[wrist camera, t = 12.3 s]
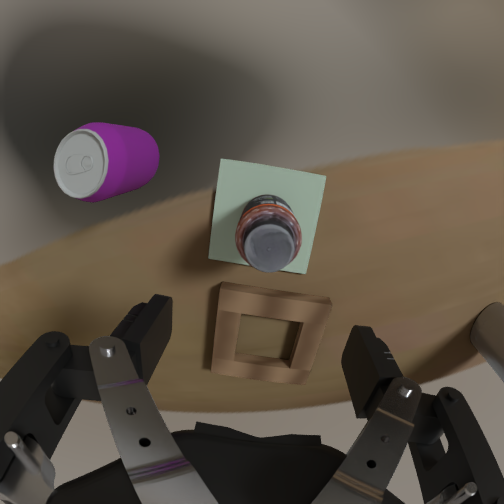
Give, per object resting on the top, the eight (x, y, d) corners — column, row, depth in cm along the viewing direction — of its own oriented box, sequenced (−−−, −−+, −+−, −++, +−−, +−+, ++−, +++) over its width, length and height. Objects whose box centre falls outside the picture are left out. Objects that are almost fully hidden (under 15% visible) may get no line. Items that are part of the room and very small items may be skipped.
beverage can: (162, 125, 31) (113, 114, 20) (162, 188, 33) (115, 205, 22) (107, 131, 31) (47, 128, 20) (108, 190, 34) (50, 208, 22)
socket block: (329, 297, 37) (332, 305, 35) (304, 376, 41) (305, 384, 40) (222, 281, 37) (220, 288, 35) (213, 363, 41) (210, 372, 39)
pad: (325, 175, 32) (326, 176, 31) (305, 272, 36) (305, 274, 35) (221, 158, 32) (220, 158, 31) (209, 256, 36) (208, 258, 35)
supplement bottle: (259, 252, 35) (256, 297, 24) (231, 210, 33) (214, 238, 23) (303, 227, 34) (319, 261, 23) (276, 183, 32) (281, 197, 21)
